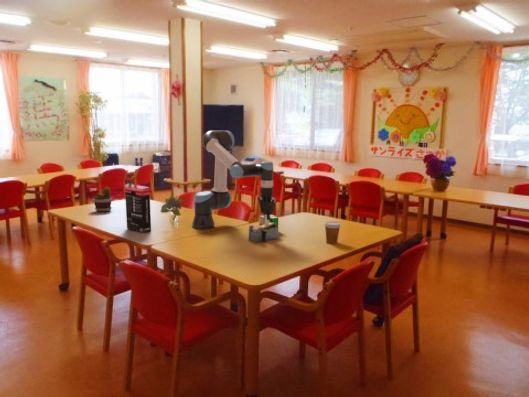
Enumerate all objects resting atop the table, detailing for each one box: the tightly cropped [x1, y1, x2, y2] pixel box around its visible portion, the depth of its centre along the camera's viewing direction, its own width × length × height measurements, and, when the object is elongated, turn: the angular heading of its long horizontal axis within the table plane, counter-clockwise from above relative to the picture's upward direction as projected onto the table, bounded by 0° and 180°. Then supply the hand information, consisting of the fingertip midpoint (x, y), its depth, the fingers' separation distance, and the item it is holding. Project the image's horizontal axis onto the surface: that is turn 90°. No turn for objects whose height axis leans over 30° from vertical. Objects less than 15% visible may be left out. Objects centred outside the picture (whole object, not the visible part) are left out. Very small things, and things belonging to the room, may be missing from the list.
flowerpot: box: [92, 186, 114, 213], centre depth 351 cm, size 14×15×20 cm
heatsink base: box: [248, 222, 279, 244], centre depth 279 cm, size 12×19×9 cm, turn 142°
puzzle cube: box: [258, 214, 279, 229], centre depth 296 cm, size 10×10×10 cm
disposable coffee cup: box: [324, 221, 342, 245], centre depth 272 cm, size 10×10×12 cm
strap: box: [251, 222, 273, 232], centre depth 278 cm, size 5×17×2 cm, turn 142°
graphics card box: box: [124, 187, 152, 234], centre depth 293 cm, size 17×7×27 cm, turn 56°
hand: (266, 224), depth 280 cm, fingers closed
